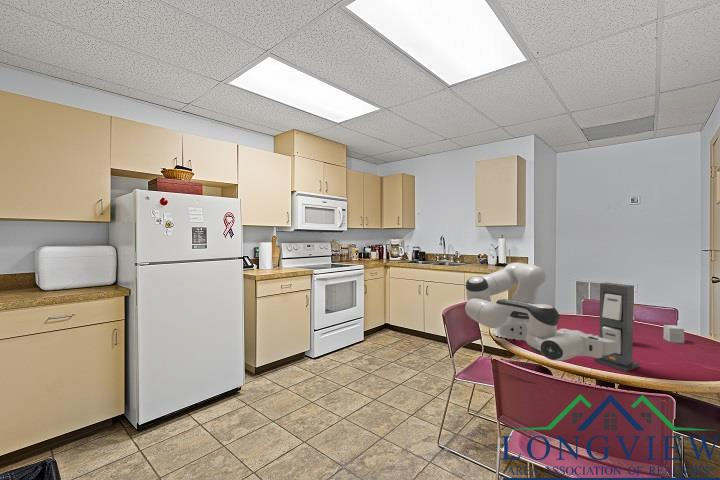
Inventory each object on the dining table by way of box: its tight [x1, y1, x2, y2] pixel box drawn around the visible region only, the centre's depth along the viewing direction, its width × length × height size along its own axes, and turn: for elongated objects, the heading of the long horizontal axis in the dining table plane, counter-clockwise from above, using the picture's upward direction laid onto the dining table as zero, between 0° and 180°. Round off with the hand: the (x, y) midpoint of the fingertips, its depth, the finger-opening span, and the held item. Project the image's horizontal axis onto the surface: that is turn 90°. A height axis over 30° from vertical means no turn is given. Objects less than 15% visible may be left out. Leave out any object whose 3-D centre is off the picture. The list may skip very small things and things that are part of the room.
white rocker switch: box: [602, 293, 623, 321], centre depth 140 cm, size 2×6×10 cm, turn 29°
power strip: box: [594, 281, 640, 373], centre depth 142 cm, size 10×12×34 cm
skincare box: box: [663, 324, 685, 344], centre depth 171 cm, size 6×6×7 cm
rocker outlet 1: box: [602, 326, 622, 354], centre depth 141 cm, size 2×6×10 cm, turn 28°
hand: (595, 336), depth 135 cm, fingers closed
